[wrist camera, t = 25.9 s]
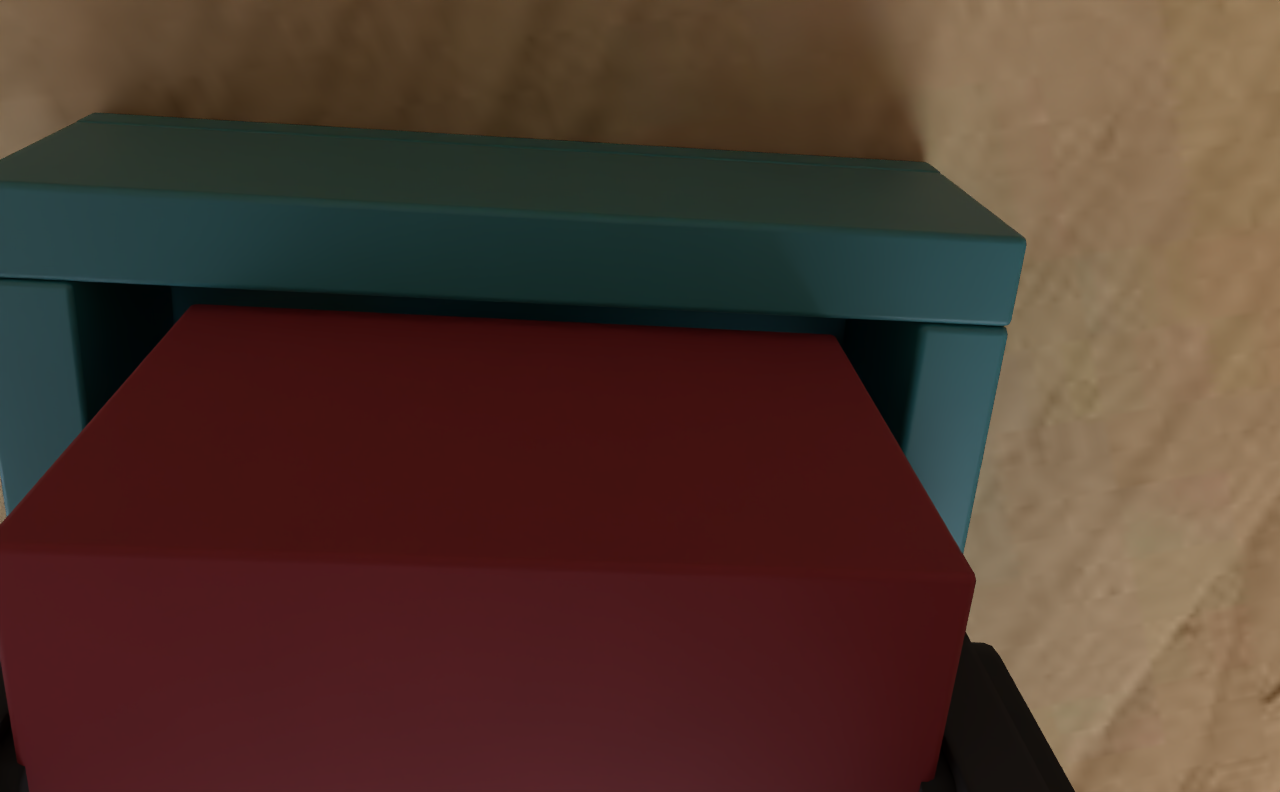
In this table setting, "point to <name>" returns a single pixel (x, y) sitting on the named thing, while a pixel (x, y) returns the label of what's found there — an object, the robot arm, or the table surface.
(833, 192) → the holder
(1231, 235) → the table surface
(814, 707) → the dark red block
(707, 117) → the table surface
